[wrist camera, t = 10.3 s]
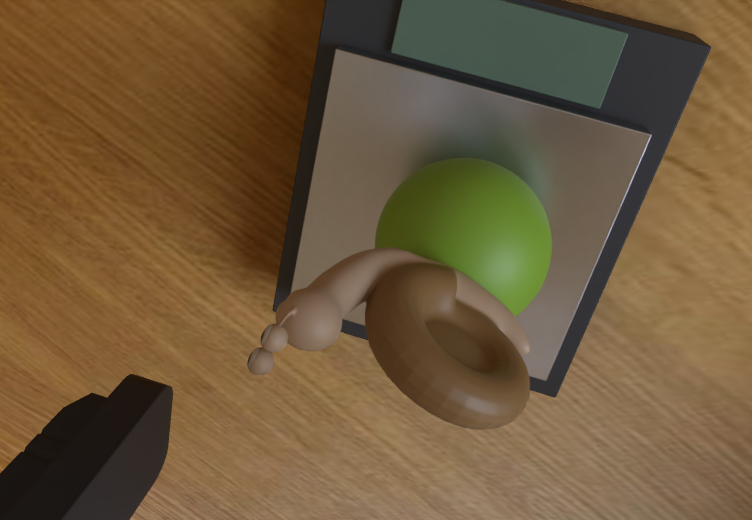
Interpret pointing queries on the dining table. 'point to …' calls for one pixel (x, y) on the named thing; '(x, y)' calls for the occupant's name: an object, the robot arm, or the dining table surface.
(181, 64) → the dining table surface
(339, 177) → the scale platter
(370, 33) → the scale
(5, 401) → the dining table surface
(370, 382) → the dining table surface
